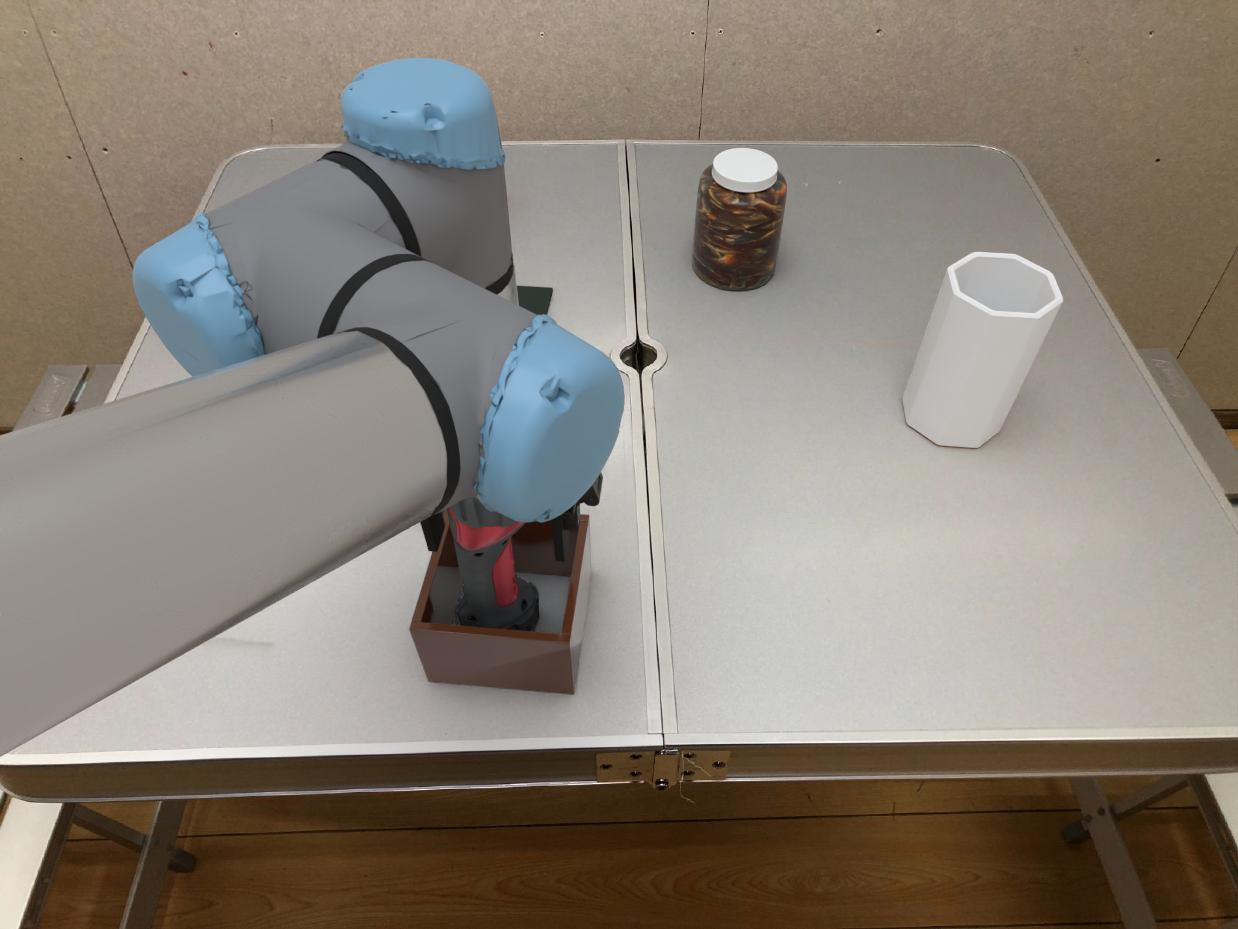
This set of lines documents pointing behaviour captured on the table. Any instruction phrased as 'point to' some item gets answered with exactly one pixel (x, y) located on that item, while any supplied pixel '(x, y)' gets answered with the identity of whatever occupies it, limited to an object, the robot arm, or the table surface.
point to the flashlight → (490, 570)
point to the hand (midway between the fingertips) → (499, 543)
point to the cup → (979, 347)
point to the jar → (739, 220)
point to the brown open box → (503, 651)
